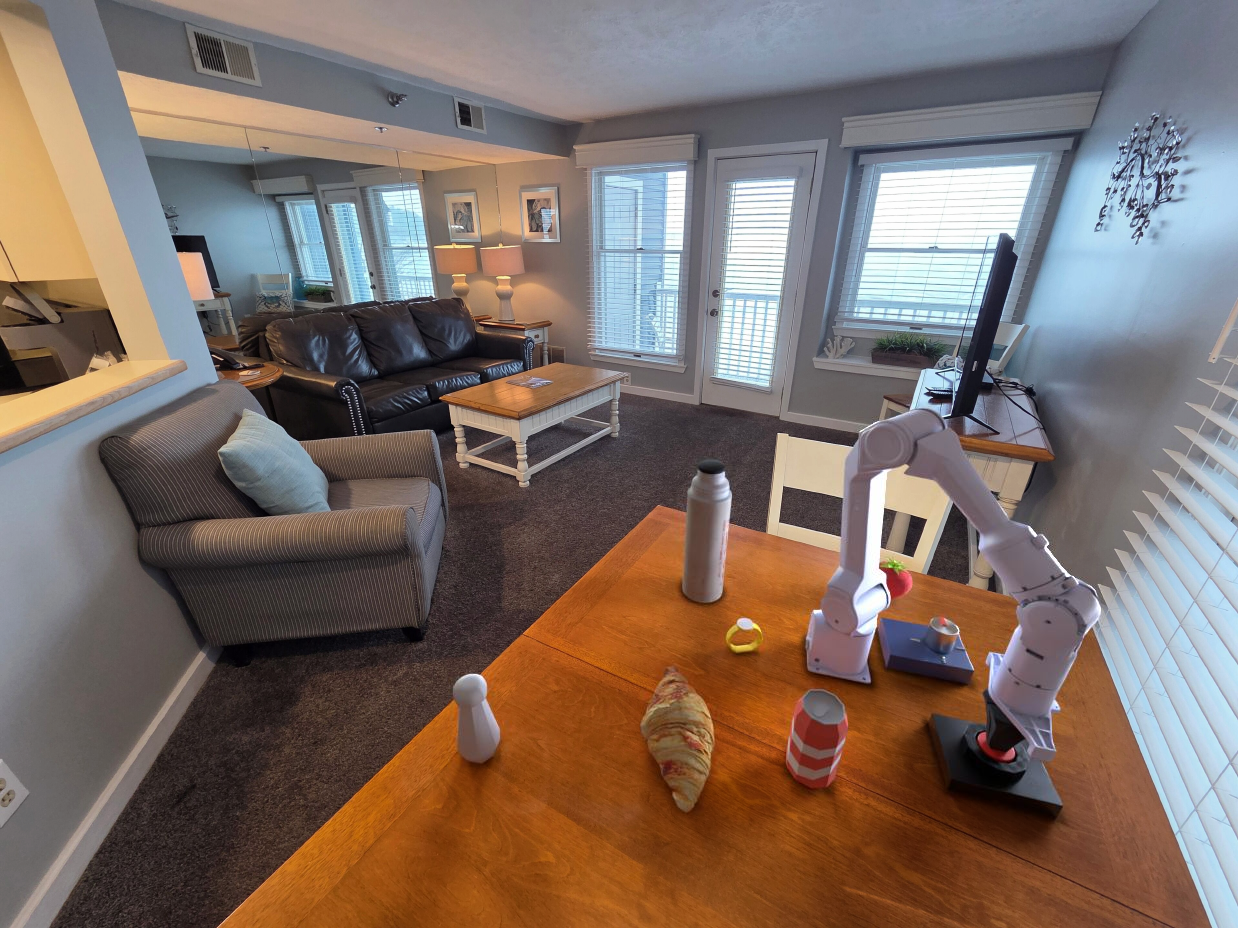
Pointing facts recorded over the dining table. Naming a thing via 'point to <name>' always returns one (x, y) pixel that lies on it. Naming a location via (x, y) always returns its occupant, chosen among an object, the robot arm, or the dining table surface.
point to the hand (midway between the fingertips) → (996, 745)
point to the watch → (744, 626)
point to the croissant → (679, 737)
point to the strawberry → (896, 578)
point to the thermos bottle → (706, 532)
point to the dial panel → (921, 652)
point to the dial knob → (941, 635)
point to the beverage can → (816, 738)
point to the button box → (991, 768)
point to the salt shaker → (475, 720)
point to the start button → (994, 754)
